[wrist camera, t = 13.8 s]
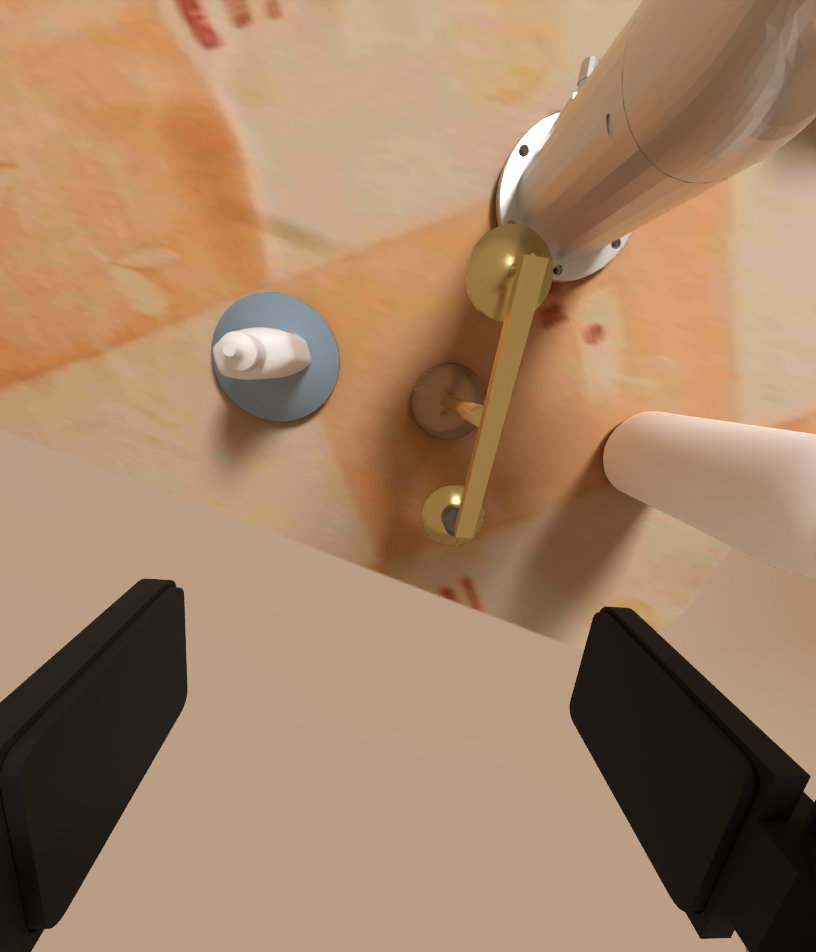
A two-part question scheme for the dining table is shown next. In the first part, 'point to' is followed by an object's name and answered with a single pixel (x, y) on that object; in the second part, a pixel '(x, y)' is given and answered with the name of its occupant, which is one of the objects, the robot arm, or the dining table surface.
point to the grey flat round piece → (290, 392)
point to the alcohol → (723, 482)
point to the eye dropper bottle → (260, 354)
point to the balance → (461, 392)
